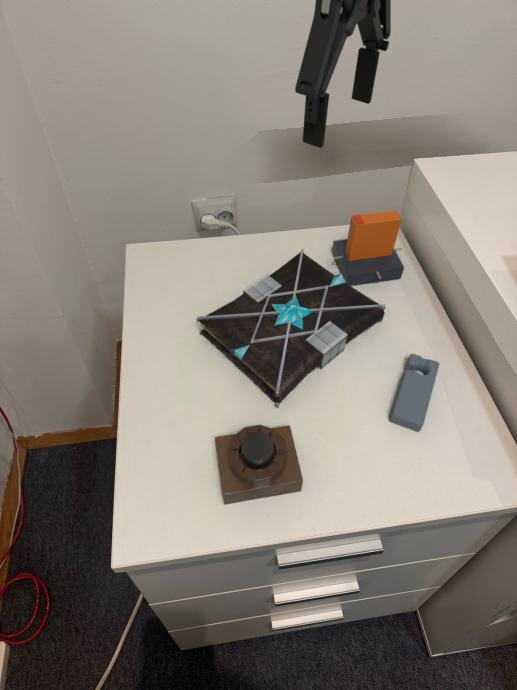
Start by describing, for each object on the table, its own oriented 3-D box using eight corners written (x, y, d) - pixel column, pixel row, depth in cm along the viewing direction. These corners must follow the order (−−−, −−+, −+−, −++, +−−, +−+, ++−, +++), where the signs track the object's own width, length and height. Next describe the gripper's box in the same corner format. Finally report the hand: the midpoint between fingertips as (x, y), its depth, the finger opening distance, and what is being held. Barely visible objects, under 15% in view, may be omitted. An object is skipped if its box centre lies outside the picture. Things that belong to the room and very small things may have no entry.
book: (277, 409, 63) (278, 389, 59) (196, 334, 70) (192, 311, 66) (383, 321, 71) (390, 298, 67) (300, 263, 79) (303, 239, 75)
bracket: (388, 421, 62) (391, 414, 60) (407, 360, 67) (411, 351, 66) (419, 433, 61) (423, 425, 59) (436, 369, 66) (440, 361, 65)
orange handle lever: (386, 246, 78) (397, 208, 72) (391, 255, 76) (402, 218, 71) (344, 251, 77) (351, 214, 71) (348, 261, 76) (356, 224, 70)
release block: (288, 437, 60) (290, 417, 56) (301, 491, 56) (304, 474, 52) (216, 448, 59) (213, 429, 55) (224, 504, 55) (221, 488, 51)
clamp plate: (386, 238, 83) (389, 226, 80) (411, 285, 76) (415, 272, 74) (322, 247, 81) (324, 234, 79) (342, 295, 75) (344, 283, 73)
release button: (270, 435, 55) (270, 428, 54) (276, 465, 53) (277, 458, 52) (239, 441, 55) (238, 433, 54) (244, 470, 53) (243, 464, 51)
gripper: (384, -113, 56) (355, 78, 73) (265, -60, 44) (264, 155, 61) (446, -105, 54) (401, 91, 71) (339, -46, 41) (316, 174, 58)
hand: (338, 121), depth 66 cm, fingers open, 13 cm apart
